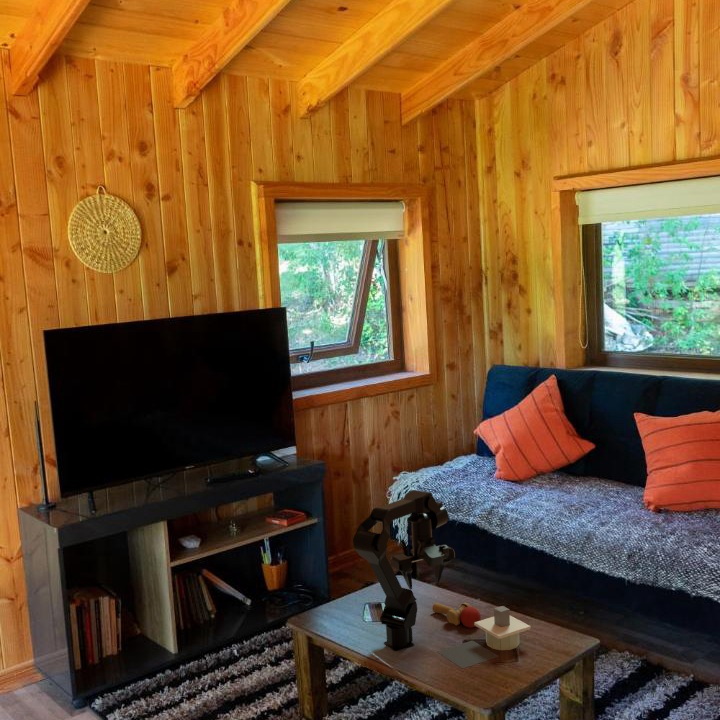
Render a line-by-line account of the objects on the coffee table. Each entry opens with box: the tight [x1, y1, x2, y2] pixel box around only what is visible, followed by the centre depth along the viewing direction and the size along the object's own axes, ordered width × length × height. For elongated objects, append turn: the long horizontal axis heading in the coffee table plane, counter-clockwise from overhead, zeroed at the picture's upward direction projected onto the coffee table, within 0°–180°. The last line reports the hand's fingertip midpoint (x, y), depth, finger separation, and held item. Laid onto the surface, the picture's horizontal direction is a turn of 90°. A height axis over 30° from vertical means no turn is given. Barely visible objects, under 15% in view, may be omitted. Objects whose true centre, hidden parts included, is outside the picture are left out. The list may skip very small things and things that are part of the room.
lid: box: [474, 605, 532, 639], centre depth 250 cm, size 11×11×5 cm
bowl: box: [485, 632, 521, 651], centre depth 251 cm, size 9×9×5 cm
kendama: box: [432, 602, 482, 629], centre depth 268 cm, size 8×6×18 cm
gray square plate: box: [437, 640, 500, 669], centre depth 246 cm, size 12×12×1 cm
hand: (424, 585), depth 263 cm, fingers open, 9 cm apart
